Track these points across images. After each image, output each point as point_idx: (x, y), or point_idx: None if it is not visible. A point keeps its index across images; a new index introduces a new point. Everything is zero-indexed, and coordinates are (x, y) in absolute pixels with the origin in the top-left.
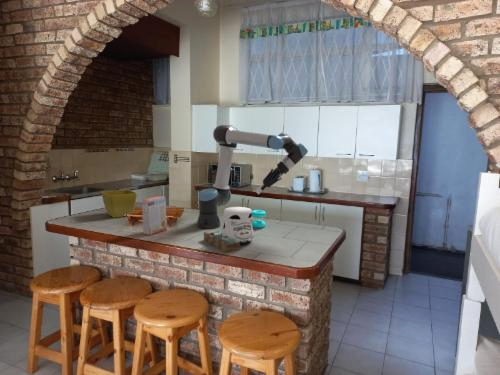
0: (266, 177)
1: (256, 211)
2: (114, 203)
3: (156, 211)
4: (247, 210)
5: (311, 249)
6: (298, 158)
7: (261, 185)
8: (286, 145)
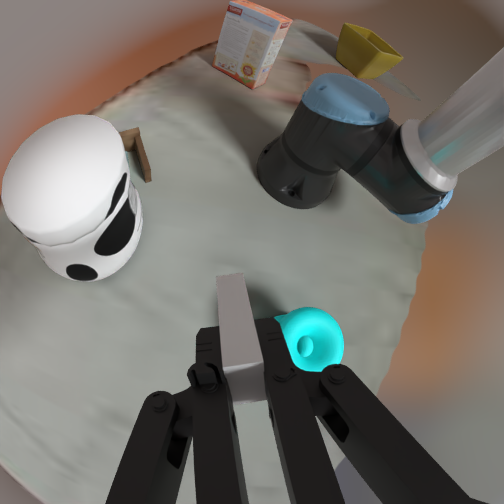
0: (364, 435)
1: (326, 338)
2: (343, 37)
3: (240, 33)
4: (25, 205)
5: (4, 437)
6: None
7: (235, 337)
8: None
